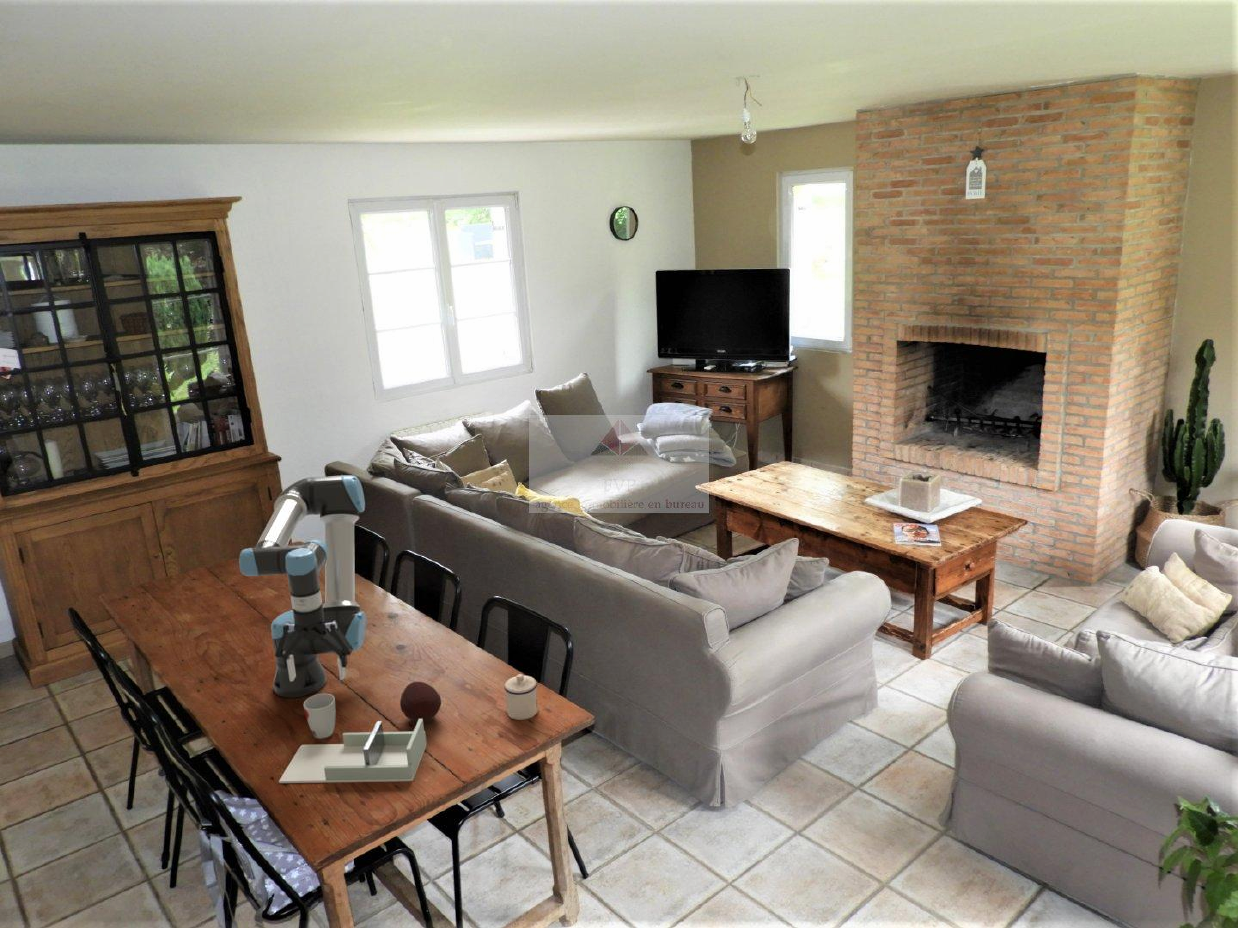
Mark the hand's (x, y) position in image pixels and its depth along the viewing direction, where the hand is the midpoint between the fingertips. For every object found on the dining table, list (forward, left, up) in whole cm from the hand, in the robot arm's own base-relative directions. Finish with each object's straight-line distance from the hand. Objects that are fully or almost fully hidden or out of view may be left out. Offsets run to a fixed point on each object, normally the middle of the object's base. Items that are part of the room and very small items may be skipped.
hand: (318, 678), depth 244 cm
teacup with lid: (+52, +10, -17) cm, 56 cm away
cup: (-1, 0, -17) cm, 17 cm away
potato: (+25, +6, -17) cm, 31 cm away
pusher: (+18, -14, -16) cm, 28 cm away
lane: (+12, -14, -17) cm, 25 cm away
